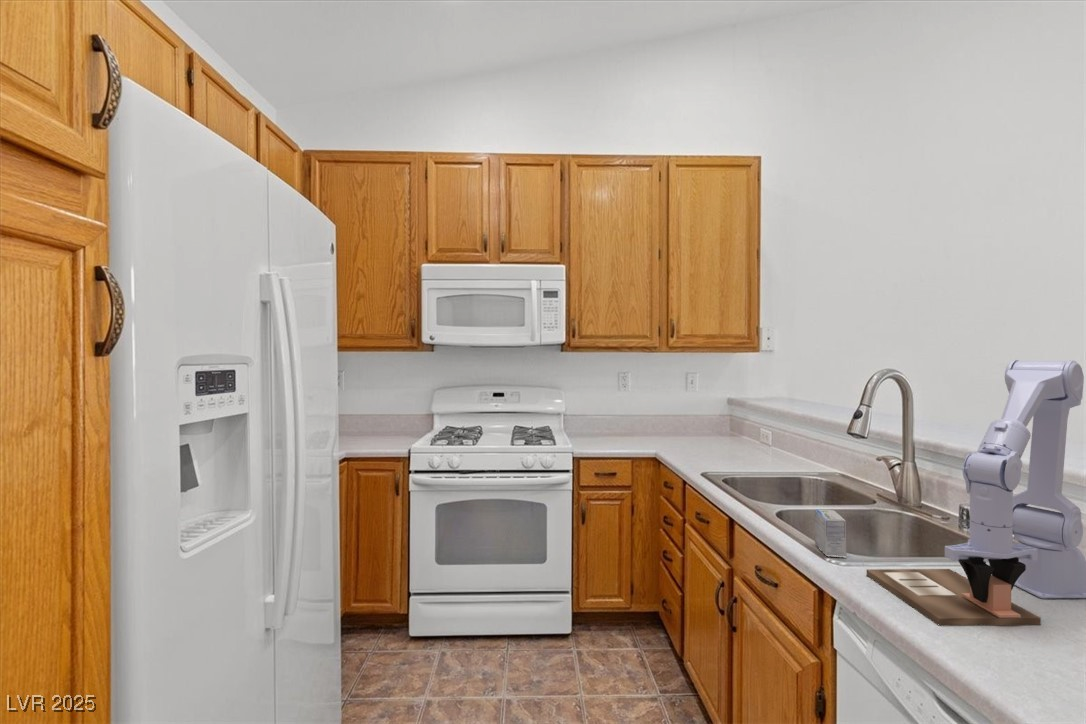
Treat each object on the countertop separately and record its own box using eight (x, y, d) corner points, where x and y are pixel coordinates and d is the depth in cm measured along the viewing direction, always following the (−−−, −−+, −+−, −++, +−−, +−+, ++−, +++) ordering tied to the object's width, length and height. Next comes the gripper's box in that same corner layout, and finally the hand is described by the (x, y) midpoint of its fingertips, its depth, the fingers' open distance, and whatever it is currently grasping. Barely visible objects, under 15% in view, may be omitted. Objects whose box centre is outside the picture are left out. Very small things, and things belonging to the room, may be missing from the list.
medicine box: (846, 559, 117) (846, 520, 117) (825, 557, 118) (825, 519, 118) (834, 546, 125) (834, 509, 125) (814, 545, 126) (814, 508, 126)
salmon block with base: (981, 595, 96) (981, 569, 96) (1020, 617, 88) (1021, 588, 88) (961, 595, 96) (961, 569, 96) (999, 617, 88) (999, 589, 88)
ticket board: (949, 574, 109) (949, 567, 109) (1040, 624, 89) (1040, 616, 89) (866, 575, 109) (866, 568, 109) (939, 625, 89) (939, 616, 89)
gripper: (1012, 515, 96) (1011, 589, 96) (932, 515, 96) (931, 589, 96) (1049, 528, 89) (1048, 608, 89) (962, 528, 89) (962, 608, 89)
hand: (990, 599), depth 92 cm, fingers closed on salmon block with base, 3 cm apart
